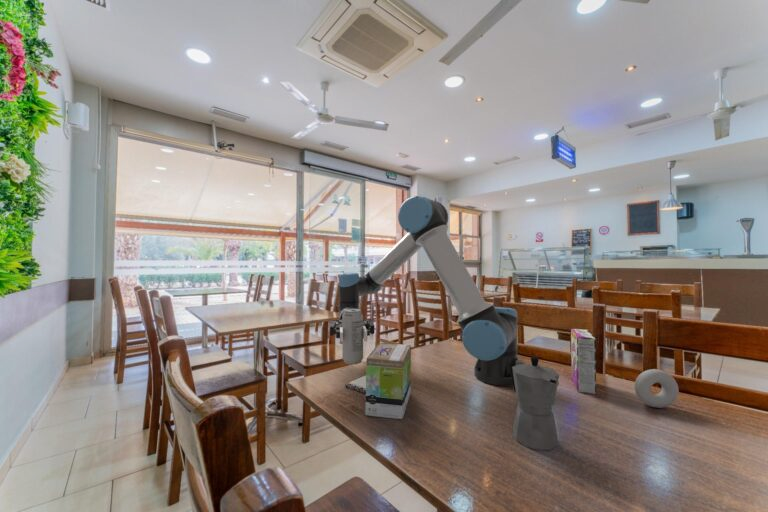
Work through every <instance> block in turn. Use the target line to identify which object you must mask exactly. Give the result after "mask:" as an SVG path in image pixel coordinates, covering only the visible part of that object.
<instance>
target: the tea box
mask: <svg viewBox="0 0 768 512" xmlns="http://www.w3.org/2000/svg"><path fill="white" fill-rule="evenodd" d="M365 366H366V367H365V369H366V373H365V375H366V393H365V416H370V417H377V418H378V417H379V418H387V419H398V420H403V418H404V415H405V414H406V413H405V412H406V409H407V406H408V403H409V399H410V396H411V388H412V387H411V383H412V382H411V381H412V380H411V378H412V377H411V375H412V372H411V371H412V345H411V344H410V345H409V344H401V343H400V344H398V343H385V342H383V343H382V342H381V343H380V342H378V343H377V345H376V346H375V348H374V349H373V350H372V351H370V353H369V354H368V356H367V357H366V365H365Z"/></svg>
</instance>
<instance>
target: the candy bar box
mask: <svg viewBox="0 0 768 512" xmlns="http://www.w3.org/2000/svg"><path fill="white" fill-rule="evenodd" d="M570 337H571V339H570V343H571V345H570V346H571V347H570V348H571V349H570V352H571V357H570V358H571V380H572V382H573V383H574V386H575V388H576V390H577V392H578V393H581V392H582V394H589V393H590V394H591V395H597V367H596V366H597V360H596V359H597V355H596V354H597V353H596V351H597V350H596V348H597V347H596V341H597V340H596V338H595V336H594V335H593V334H592V333H591V332H590V331H589V330H588V329H583V328H582V329H581V328H571V329H570Z"/></svg>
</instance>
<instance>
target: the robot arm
mask: <svg viewBox="0 0 768 512" xmlns="http://www.w3.org/2000/svg"><path fill="white" fill-rule="evenodd" d="M397 220H398V224H399V226H400V227H401V229H402V230H404V231H405V232H406V234H405V235H404V236H403V237H402V238H401V239H400V240H399V241H397V243H395V245H394V246H392V248H391V249H390V250H388V252H387V253H385V255H383V257H382V258H381V259H380V260H379V261H378V262H377V263H376V264H374V265H373V267H371V269H370V270H369V271H368V272H366V274H364V275H363V276H360V274H359V273H358V272H341V273H340V274H339V279H338V319H339V320H333V319H332V320H330V321H329V322H330V325H329V336H332V337H333V336H334V335H335V339H339V343H342V342H343V328H342V316H343V314H344V312H345V311H344V310H346V309H360V297H361V296H362V297H363V296H367V295H374V294H376V293H379V292H380V291H381V290H382V286H383V284H384V283H386V281H387V280H389V278H390V277H392V276H393V275H394V274H395V273H396V272H397V271H398V270H399V269H400V268H401V267H402V266H403V265H404V264H405V263H406V262H407V261H409V260H410V259H411V258H412V257H413V256H414V255H416V253H417V252H418V251H419V250H421V248H423V250H424V252H425V253H426V255H427V258H428V260H429V261H430V263H431V264H432V265H431V266H432V267H433V268H434V270H435V272H436V274H437V275H438V278H439V280H440V282H441V283H442V285H443V287H444V289H445V291H446V292H447V294H448V296H449V298H450V299H451V302H452V303H453V306H454V307H455V309H456V312H457V313H458V317H457V323H458V325H459V327H460V329H461V331H462V333H461V334H462V335H461V340H462V344H463V347H464V349H465V350H466V351H467V353H468V354H470V356H472V357H473V358H475V359H476V362H475V365H474V369H473V370H474V373H473V374H474V376H475V378H477V380H479V381H481V382H483V383H487V384H489V385H494V386H504V387H505V386H506V387H510V386H511V387H513V383H512V378H511V372H510V368H509V362H510V361H511V360H512V359H513V358H517V359H518V360H520V359H519V356H518V320H519V317H518V312H517V310H516V309H514V308H511V307H503V306H502V307H500V306H494V304H493V303H490V302H487V301H486V300H485V299H484V297H483V295H482V294H481V292H480V290H479V288H478V286H477V285H476V283H475V281H474V279H473V278H472V276H471V273H470V272H469V271H468V269H467V267H466V265H465V263H464V262H463V260H462V258H461V256H460V255H459V253H458V251H457V250H456V248H455V246H454V244H453V242H452V241H451V239H450V237H449V235H448V233H447V232H448V229H449V225H448V222H449V213H448V210H447V208H446V207H445V206H444V205H443V204H442V203H440V202H439V201H435V200H433V199H431V198H428V197H426V196H422V195H414V196H410V197H407V199H405V200H404V201H403V202H402V204H401V205H400V207H399V211H398V214H397ZM372 321H373V320H372V319H371V318H369V319H366V320H365V321H364V319H363V342H368V337H370V335H371V334H372V335H374V334H375V324H374V323H373V322H372Z"/></svg>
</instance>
